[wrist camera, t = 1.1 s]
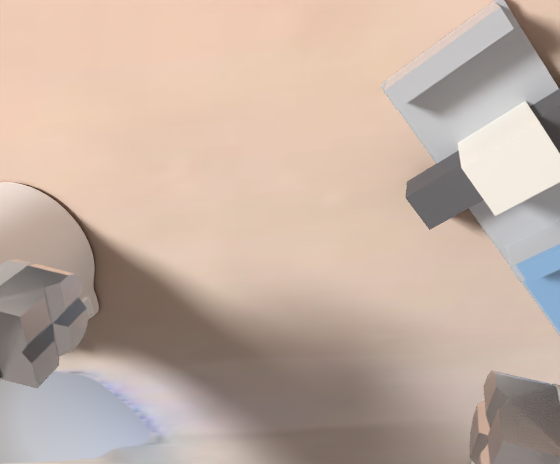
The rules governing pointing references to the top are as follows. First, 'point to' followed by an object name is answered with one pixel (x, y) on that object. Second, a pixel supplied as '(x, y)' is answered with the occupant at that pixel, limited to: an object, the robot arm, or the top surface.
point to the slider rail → (478, 113)
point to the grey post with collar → (494, 165)
